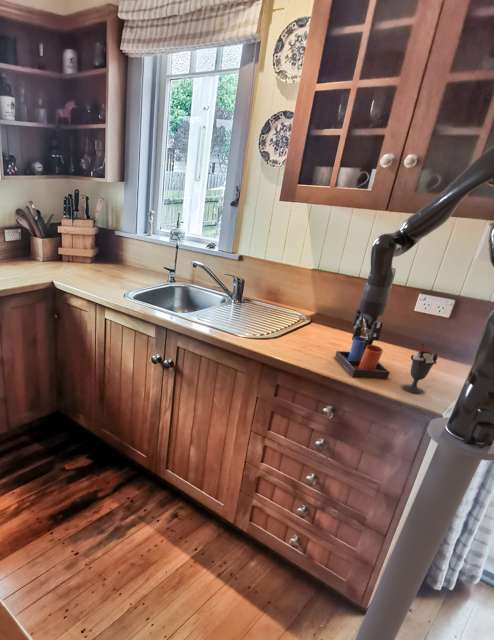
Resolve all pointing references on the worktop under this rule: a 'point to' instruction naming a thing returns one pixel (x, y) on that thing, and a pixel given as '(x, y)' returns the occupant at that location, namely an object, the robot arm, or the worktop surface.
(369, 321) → the robot arm
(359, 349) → the blue cup
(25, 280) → the worktop surface
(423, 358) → the sundae
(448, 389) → the worktop surface
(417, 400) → the worktop surface
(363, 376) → the tray
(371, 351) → the terracotta cup
